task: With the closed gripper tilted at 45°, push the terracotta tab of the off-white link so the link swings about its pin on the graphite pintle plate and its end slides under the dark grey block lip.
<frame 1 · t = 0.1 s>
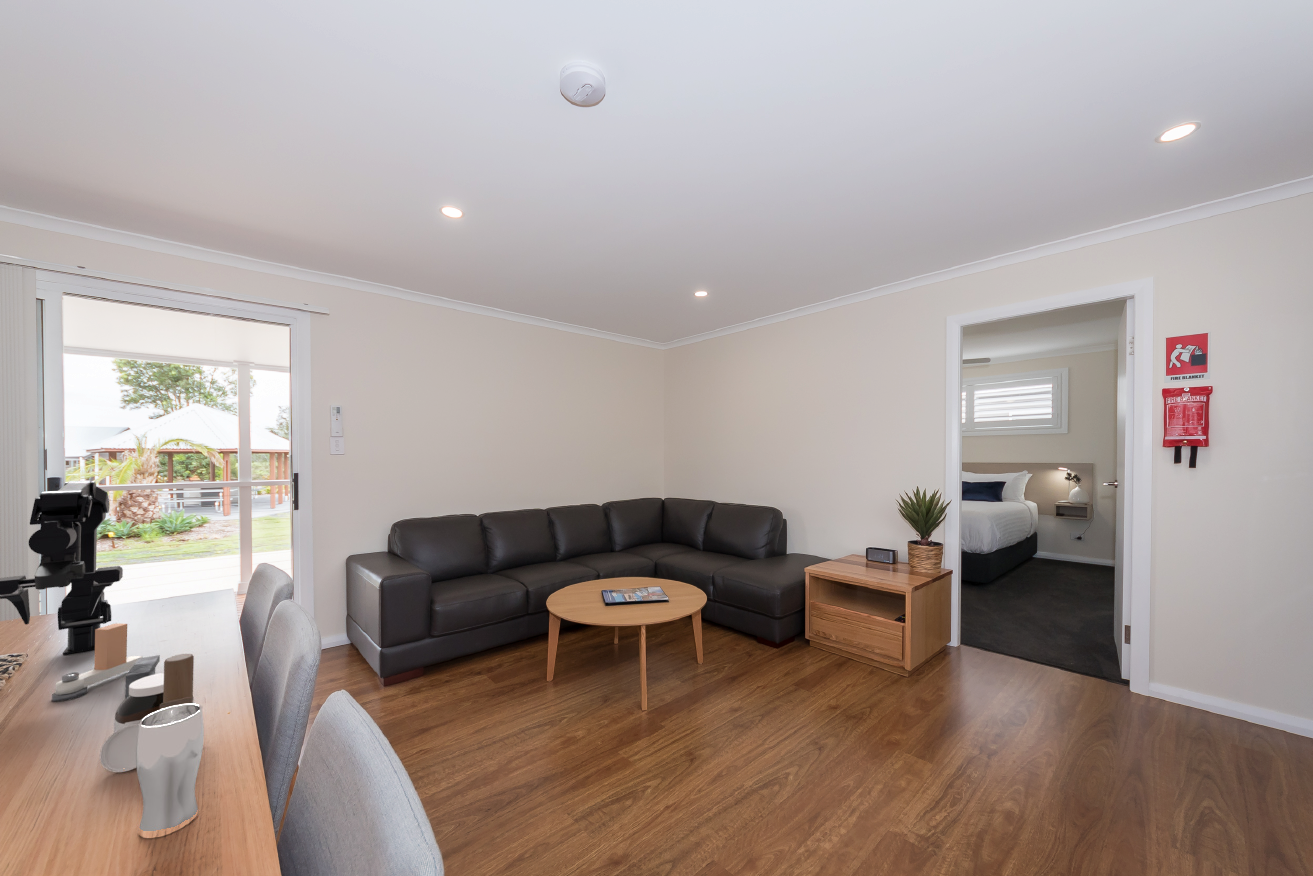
hand: (59, 619, 114), 15 cm above the table, tool pointing down, fingers open, 9 cm apart
wooden block: (175, 779, 83), on the table
pintle plate: (69, 696, 110), on the table
link: (100, 654, 116), point 7 cm above the table, hinge at 0.0°
dark grey block: (143, 676, 114), on the table
spread jar: (148, 754, 90), on the table
beer glass: (169, 824, 73), on the table
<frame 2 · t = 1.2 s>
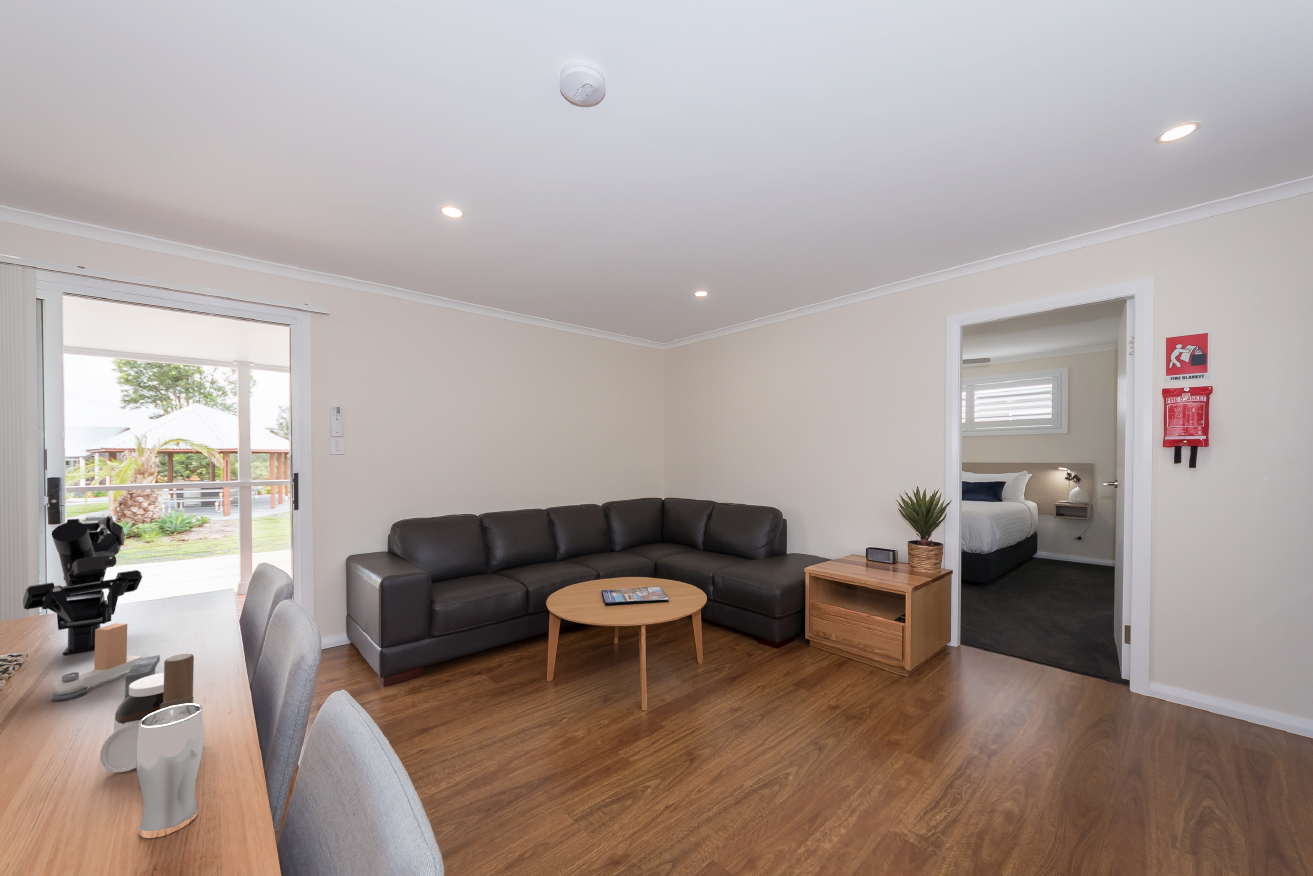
hand: (92, 617, 122), 12 cm above the table, tool tilted 45°, fingers open, 6 cm apart
nothing on the table moved.
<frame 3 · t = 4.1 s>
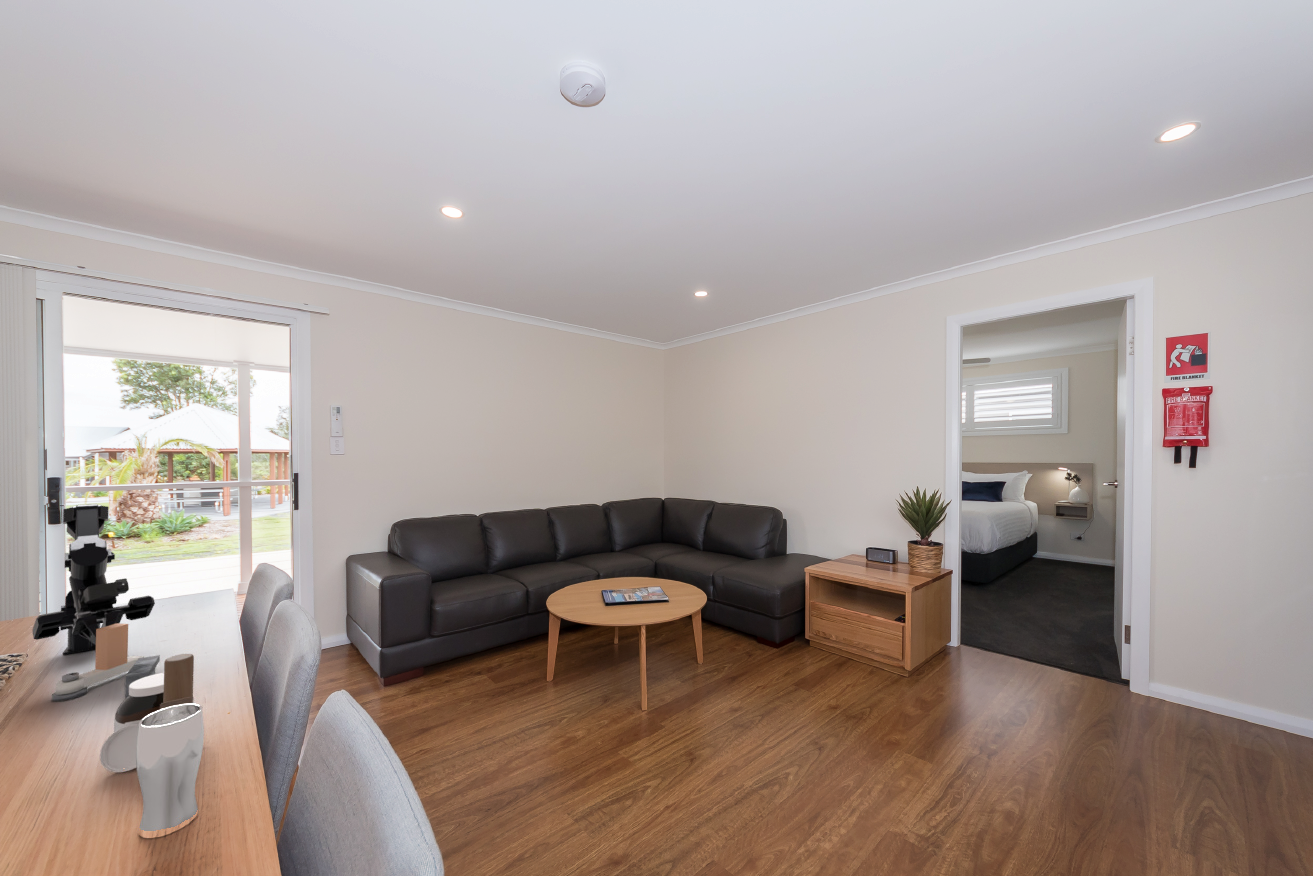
hand: (104, 647, 118), 7 cm above the table, tool tilted 45°, fingers closed
link: (101, 654, 115), point 7 cm above the table, hinge at -1.9°, touching gripper
everything else where it was.
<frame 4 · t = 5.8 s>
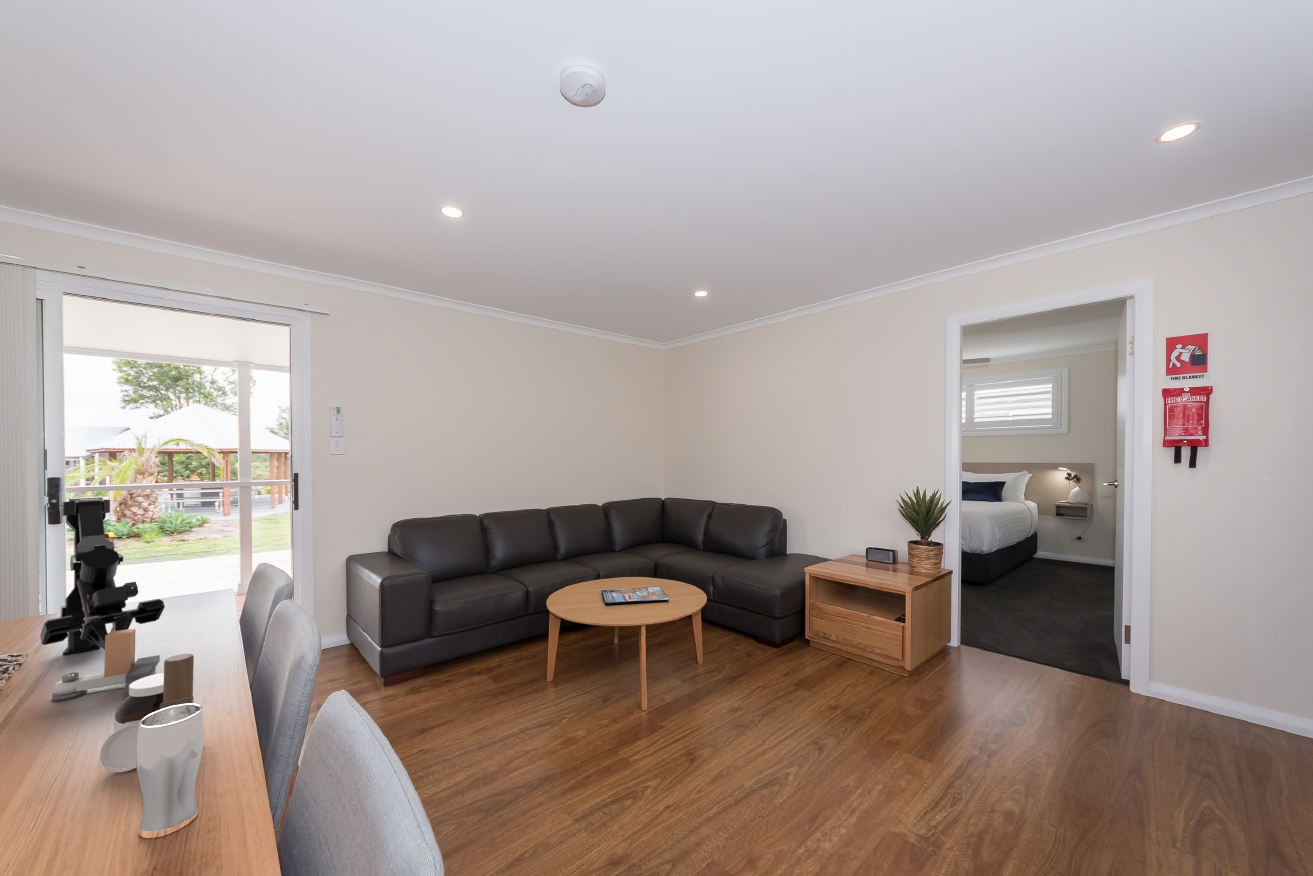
hand: (114, 652, 115), 7 cm above the table, tool tilted 45°, fingers closed
link: (107, 659, 113), point 7 cm above the table, hinge at -53.3°, touching gripper
everything else where it was.
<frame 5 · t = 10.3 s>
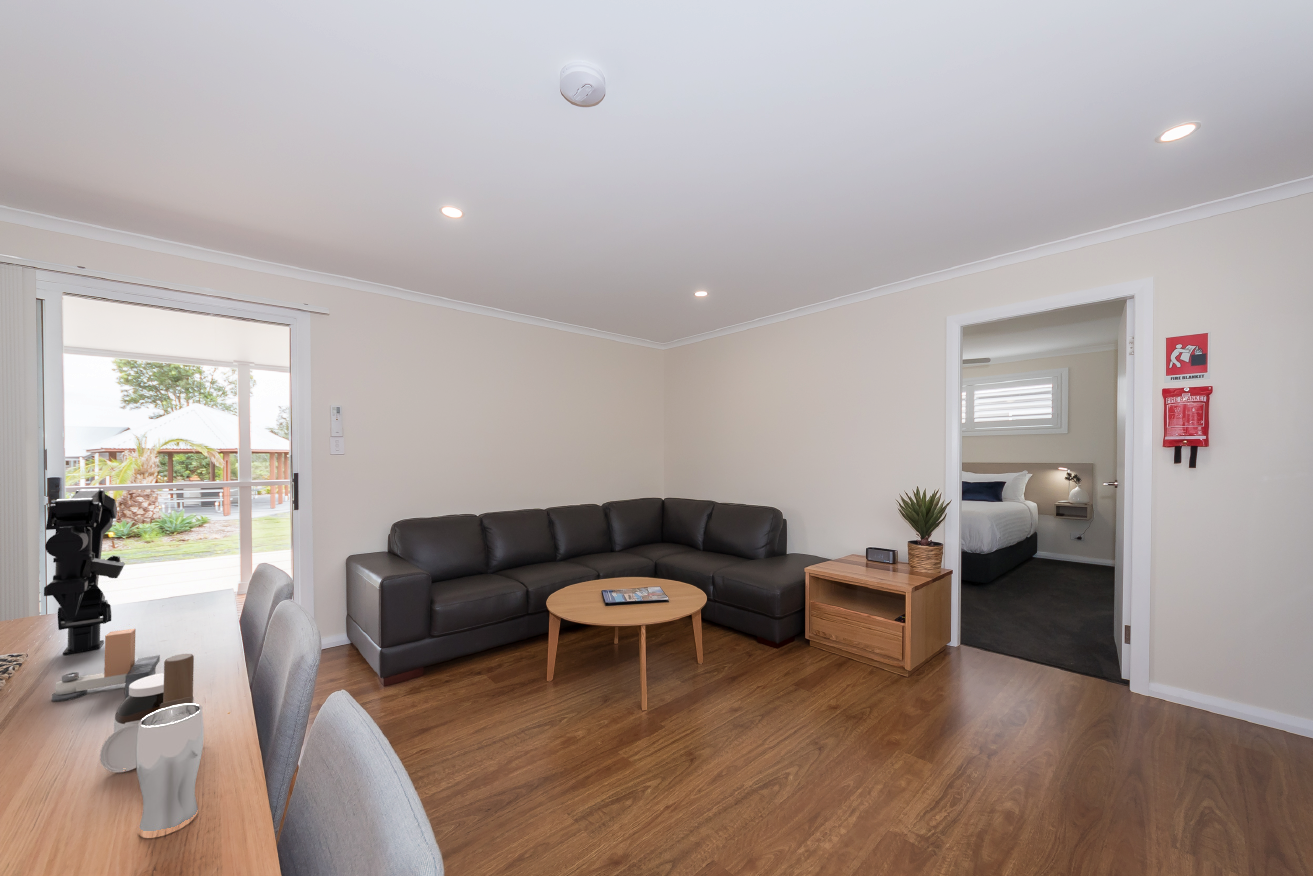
hand: (72, 616, 124), 12 cm above the table, tool pointing down, fingers closed
link: (107, 659, 113), point 7 cm above the table, hinge at -53.3°
everything else where it was.
at the end: link at -53° (first picture: +0°) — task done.
